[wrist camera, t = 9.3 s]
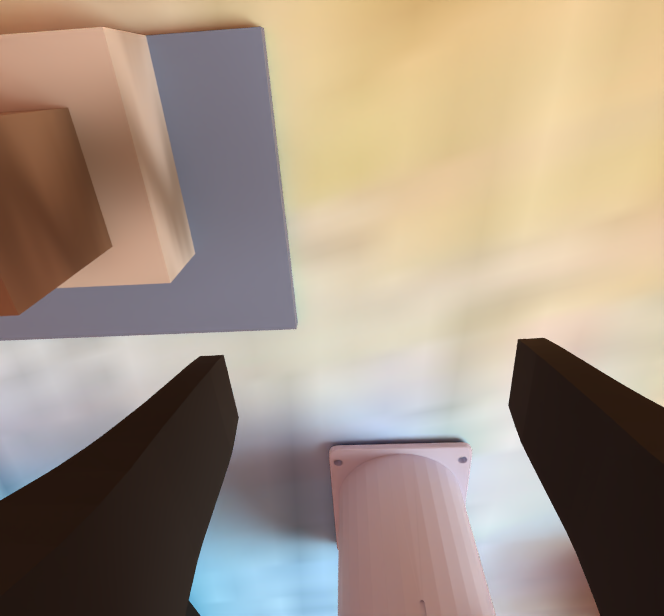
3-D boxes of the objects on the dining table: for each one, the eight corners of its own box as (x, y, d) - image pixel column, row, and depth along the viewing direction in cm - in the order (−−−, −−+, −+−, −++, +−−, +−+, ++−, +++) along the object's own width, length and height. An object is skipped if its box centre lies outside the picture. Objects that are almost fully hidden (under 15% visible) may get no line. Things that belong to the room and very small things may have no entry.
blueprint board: (297, 322, 21) (289, 366, 18) (-19, 335, 22) (-80, 379, 18) (263, 28, 15) (242, 16, 12) (-164, 60, 16) (-290, 56, 13)
